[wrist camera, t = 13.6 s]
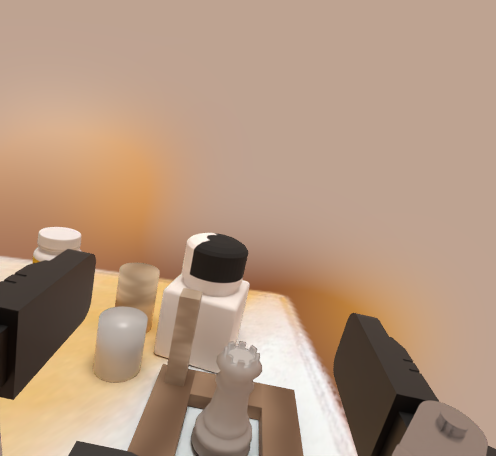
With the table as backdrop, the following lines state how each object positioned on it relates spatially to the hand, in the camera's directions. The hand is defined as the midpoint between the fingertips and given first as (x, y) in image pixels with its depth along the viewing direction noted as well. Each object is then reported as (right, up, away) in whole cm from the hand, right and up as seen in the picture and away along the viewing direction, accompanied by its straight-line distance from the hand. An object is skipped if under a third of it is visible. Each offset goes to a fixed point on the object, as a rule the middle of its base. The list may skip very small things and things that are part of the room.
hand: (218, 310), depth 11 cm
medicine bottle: (-4, -10, +27) cm, 29 cm away
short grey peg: (-11, -10, +21) cm, 26 cm away
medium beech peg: (-12, -8, +28) cm, 32 cm away
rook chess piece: (-1, -14, +16) cm, 21 cm away
